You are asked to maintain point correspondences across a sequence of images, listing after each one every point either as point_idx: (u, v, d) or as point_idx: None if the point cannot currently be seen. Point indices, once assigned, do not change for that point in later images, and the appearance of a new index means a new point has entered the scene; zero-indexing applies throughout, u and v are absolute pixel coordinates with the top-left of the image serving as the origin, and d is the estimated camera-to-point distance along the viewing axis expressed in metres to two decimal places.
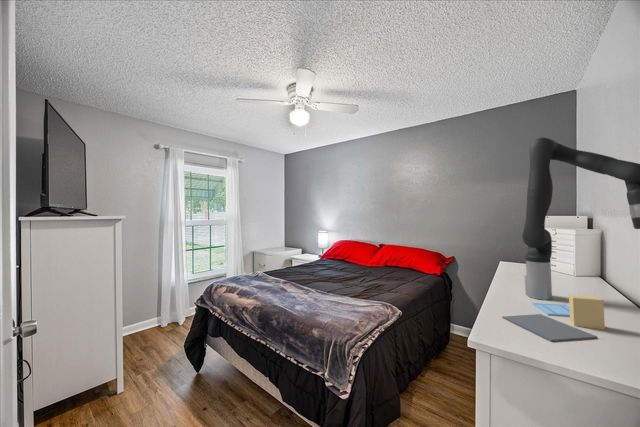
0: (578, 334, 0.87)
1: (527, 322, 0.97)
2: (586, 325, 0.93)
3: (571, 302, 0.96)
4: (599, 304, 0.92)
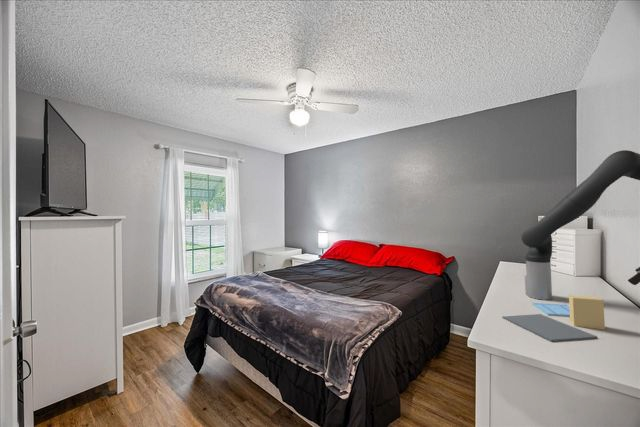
0: (578, 334, 0.87)
1: (527, 322, 0.97)
2: (586, 325, 0.93)
3: (571, 302, 0.96)
4: (599, 304, 0.92)
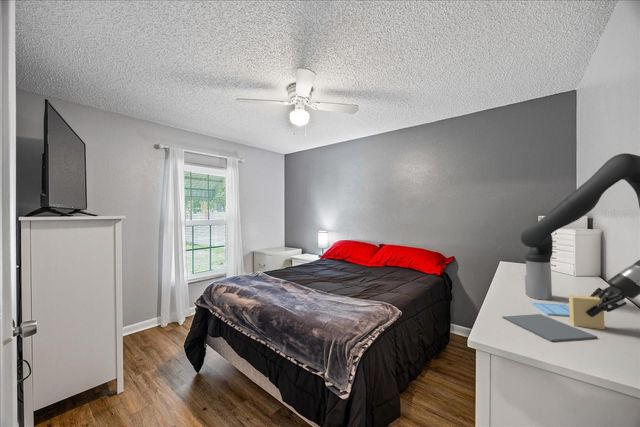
0: (578, 334, 0.87)
1: (527, 322, 0.97)
2: (586, 325, 0.93)
3: (571, 302, 0.96)
4: None
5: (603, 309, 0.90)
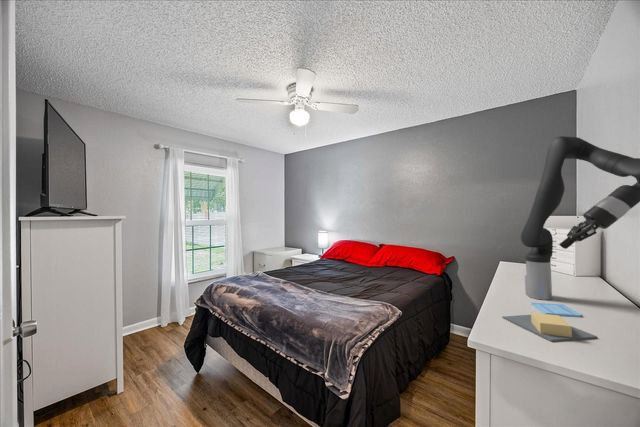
0: (578, 334, 0.87)
1: (527, 322, 0.97)
2: None
3: (538, 326, 0.90)
4: None
5: (575, 239, 0.94)
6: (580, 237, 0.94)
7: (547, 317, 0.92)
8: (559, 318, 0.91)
